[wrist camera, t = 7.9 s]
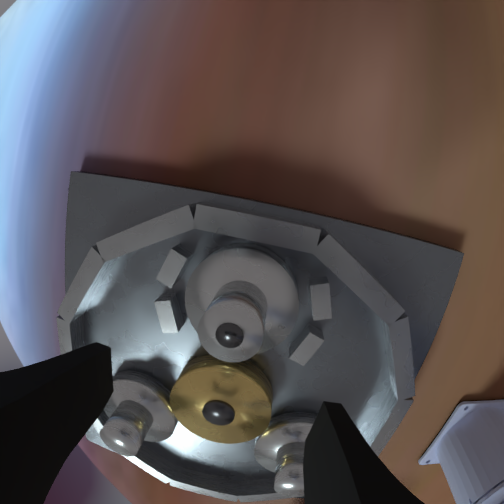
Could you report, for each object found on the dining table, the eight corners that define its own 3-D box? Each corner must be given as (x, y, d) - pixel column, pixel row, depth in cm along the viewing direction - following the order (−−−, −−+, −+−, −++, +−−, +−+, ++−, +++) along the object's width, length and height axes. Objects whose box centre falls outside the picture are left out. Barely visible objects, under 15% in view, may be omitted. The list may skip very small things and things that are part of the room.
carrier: (456, 249, 16) (508, 275, 11) (334, 492, 22) (337, 536, 17) (79, 171, 18) (20, 173, 12) (91, 433, 24) (65, 468, 18)
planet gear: (315, 266, 16) (325, 299, 12) (274, 355, 18) (269, 406, 13) (210, 227, 16) (182, 245, 12) (181, 319, 18) (151, 361, 13)
